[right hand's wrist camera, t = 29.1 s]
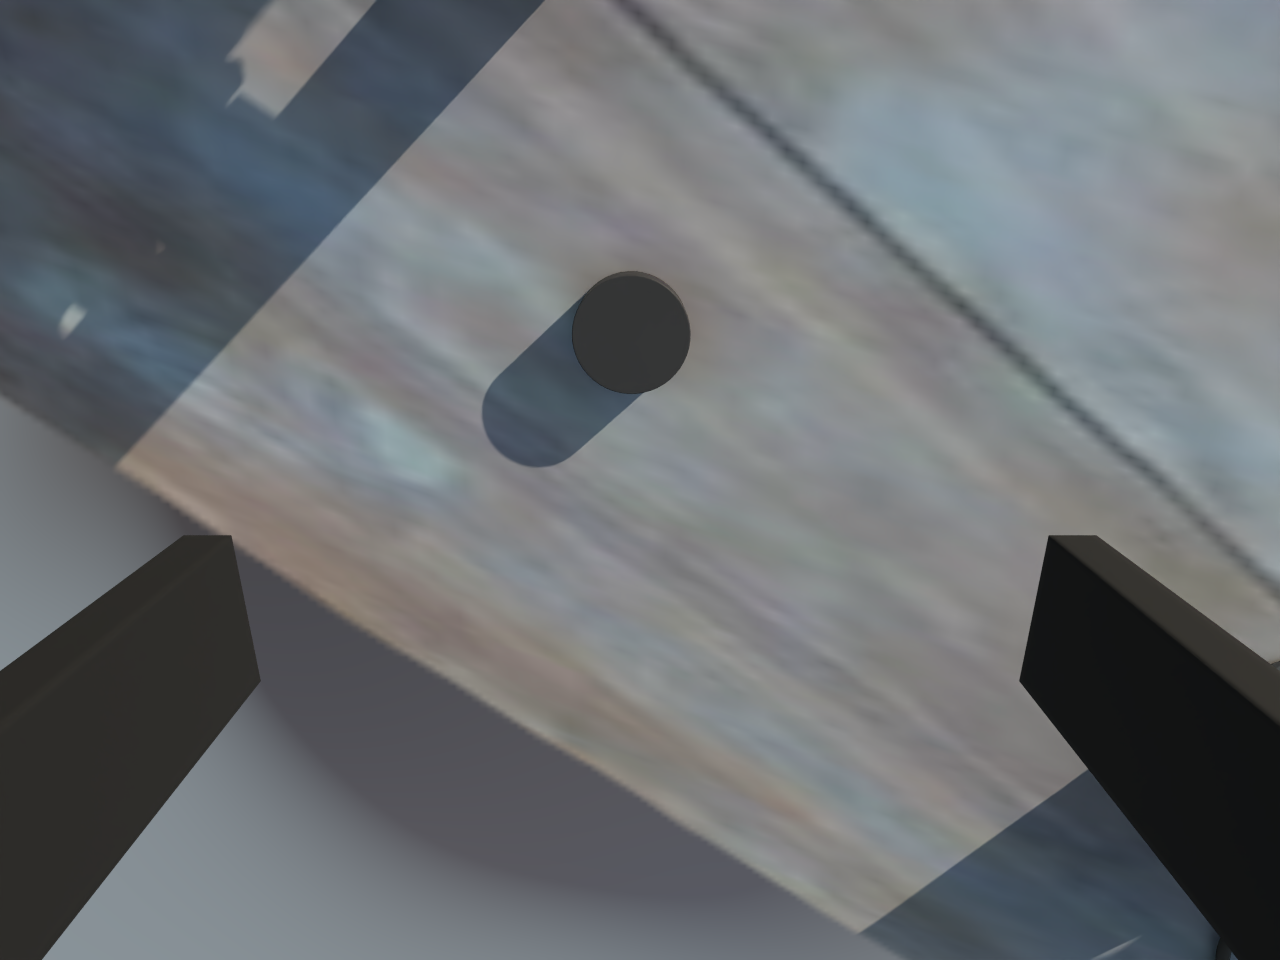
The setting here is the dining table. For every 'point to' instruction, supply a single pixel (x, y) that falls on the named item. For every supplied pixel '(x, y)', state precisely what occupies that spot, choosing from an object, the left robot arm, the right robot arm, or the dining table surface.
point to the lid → (631, 332)
